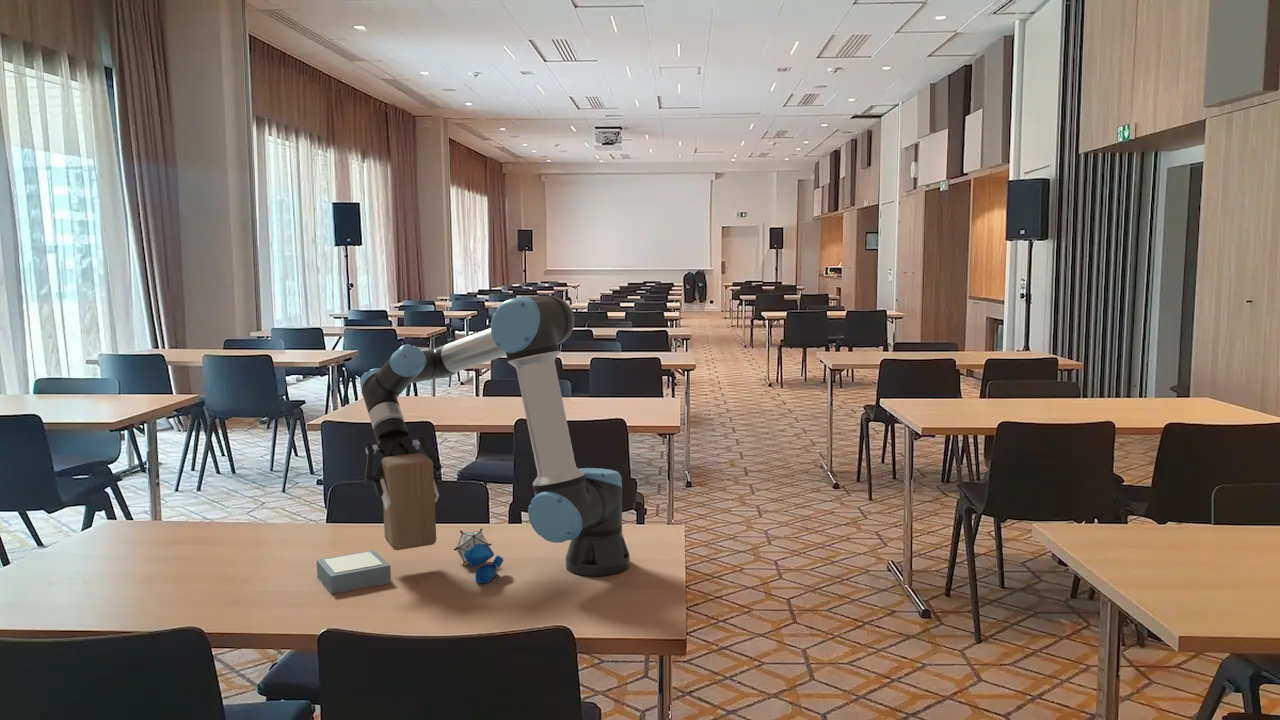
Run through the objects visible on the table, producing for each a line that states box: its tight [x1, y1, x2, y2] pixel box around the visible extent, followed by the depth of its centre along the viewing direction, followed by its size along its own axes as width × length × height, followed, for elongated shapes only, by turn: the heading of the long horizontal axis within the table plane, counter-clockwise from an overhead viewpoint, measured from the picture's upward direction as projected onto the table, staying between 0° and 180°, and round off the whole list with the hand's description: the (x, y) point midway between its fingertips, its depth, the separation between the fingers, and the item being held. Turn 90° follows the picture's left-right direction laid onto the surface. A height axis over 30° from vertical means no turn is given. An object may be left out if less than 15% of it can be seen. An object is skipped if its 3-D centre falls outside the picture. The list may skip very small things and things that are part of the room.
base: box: [316, 549, 392, 595], centre depth 204 cm, size 13×13×4 cm
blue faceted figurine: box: [464, 543, 504, 584], centre depth 203 cm, size 7×9×12 cm
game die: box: [453, 527, 492, 567], centre depth 215 cm, size 9×8×10 cm
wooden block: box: [380, 452, 437, 551], centre depth 208 cm, size 10×10×20 cm
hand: (412, 502), depth 205 cm, fingers closed on wooden block, 10 cm apart
